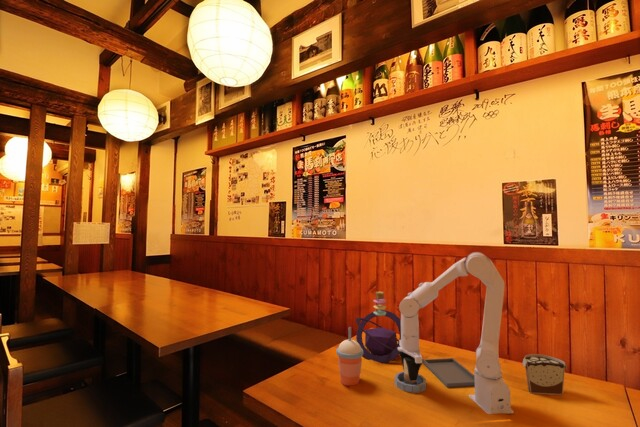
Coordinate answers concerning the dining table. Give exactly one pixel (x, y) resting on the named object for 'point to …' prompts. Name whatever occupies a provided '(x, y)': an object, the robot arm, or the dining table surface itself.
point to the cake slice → (544, 374)
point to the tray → (450, 372)
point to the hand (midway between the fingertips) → (410, 376)
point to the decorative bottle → (379, 334)
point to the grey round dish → (407, 387)
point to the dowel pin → (406, 376)
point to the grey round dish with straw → (349, 361)
